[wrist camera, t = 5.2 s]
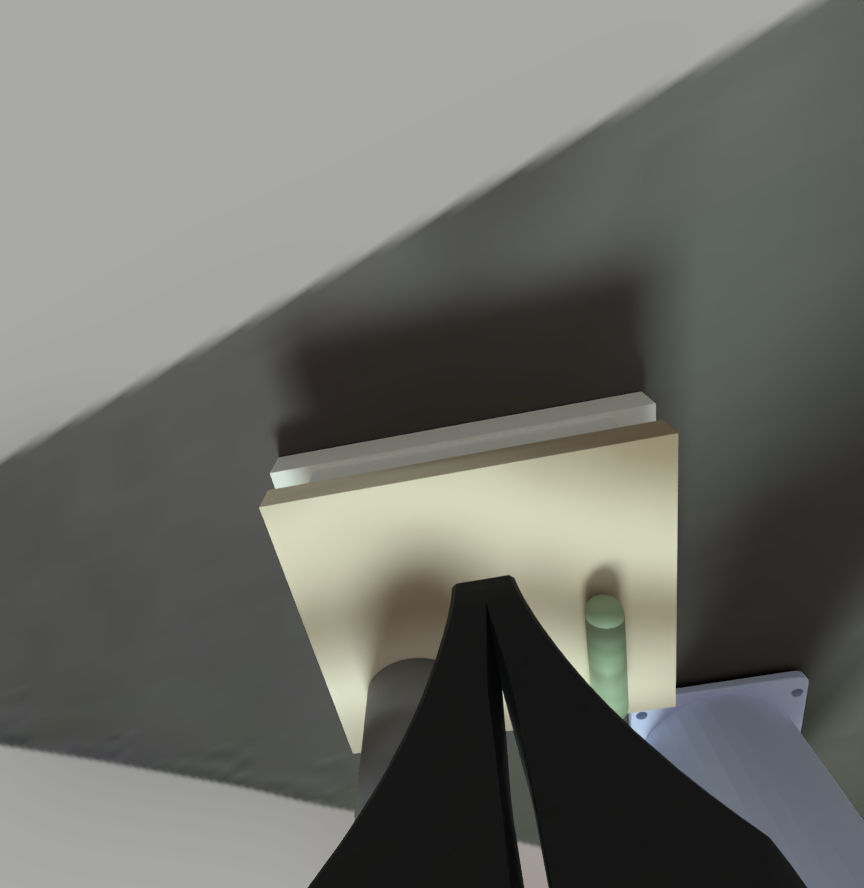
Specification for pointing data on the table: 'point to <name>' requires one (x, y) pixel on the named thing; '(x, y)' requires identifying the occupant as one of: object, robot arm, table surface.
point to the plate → (486, 569)
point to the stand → (464, 439)
